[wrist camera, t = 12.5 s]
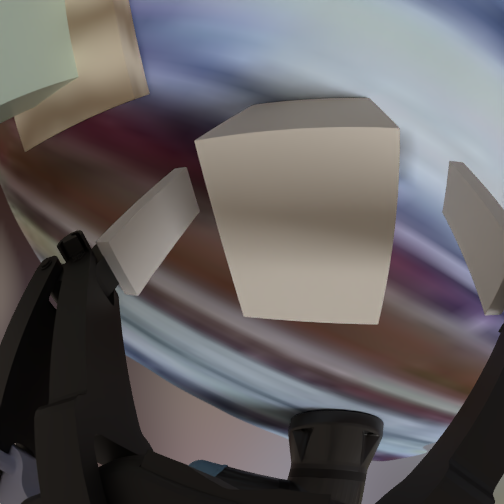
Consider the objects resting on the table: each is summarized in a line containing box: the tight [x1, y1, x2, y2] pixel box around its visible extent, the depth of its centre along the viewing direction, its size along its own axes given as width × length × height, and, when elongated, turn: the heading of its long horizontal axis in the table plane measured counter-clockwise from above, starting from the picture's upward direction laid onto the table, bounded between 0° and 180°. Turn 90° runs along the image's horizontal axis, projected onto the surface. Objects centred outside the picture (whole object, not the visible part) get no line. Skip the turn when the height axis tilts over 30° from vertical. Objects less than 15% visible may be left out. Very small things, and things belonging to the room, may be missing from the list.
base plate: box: [14, 0, 150, 152], centre depth 12 cm, size 14×14×2 cm
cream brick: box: [194, 98, 400, 324], centre depth 12 cm, size 8×6×7 cm
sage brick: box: [0, 0, 78, 123], centre depth 8 cm, size 8×6×7 cm
